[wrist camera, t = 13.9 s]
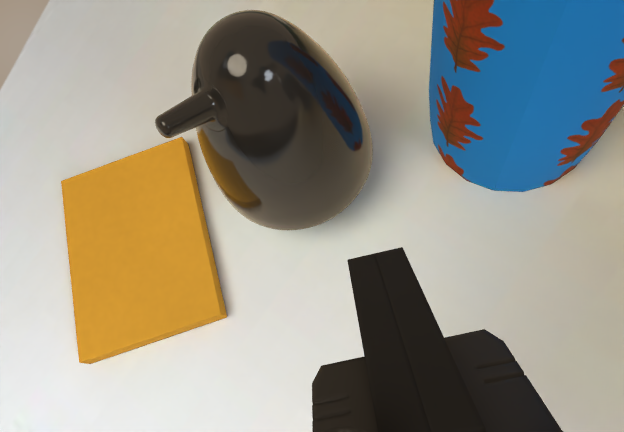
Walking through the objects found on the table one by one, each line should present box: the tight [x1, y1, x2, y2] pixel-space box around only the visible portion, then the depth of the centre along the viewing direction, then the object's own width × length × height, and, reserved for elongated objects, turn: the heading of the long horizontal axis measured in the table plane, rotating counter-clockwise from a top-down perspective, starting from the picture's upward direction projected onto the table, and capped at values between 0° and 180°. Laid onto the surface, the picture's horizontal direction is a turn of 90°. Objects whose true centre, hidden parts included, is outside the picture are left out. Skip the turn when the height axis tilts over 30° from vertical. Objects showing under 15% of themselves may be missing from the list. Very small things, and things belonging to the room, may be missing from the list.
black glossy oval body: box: [155, 10, 373, 230], centre depth 28 cm, size 10×10×15 cm
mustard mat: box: [61, 137, 227, 364], centre depth 35 cm, size 14×10×1 cm
